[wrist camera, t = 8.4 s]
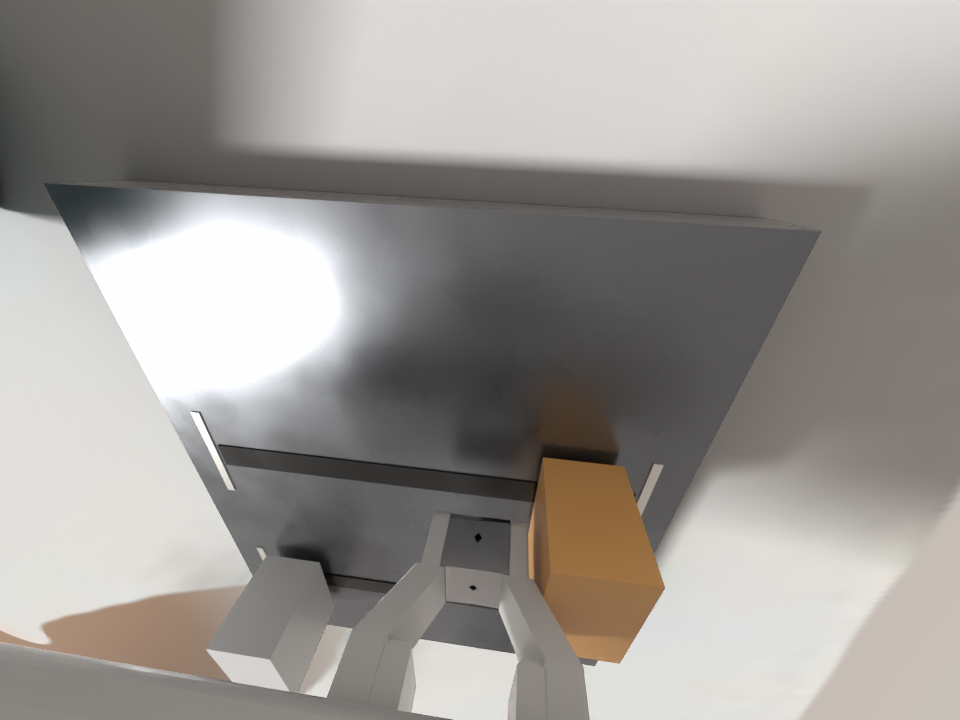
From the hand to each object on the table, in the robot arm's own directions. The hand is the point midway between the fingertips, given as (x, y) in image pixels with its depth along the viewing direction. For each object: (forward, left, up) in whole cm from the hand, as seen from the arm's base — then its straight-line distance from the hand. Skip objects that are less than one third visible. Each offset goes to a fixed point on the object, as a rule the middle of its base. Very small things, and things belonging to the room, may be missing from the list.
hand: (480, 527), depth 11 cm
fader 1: (-8, +8, -1) cm, 12 cm away
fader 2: (0, -3, -1) cm, 3 cm away
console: (-2, +2, -4) cm, 5 cm away
